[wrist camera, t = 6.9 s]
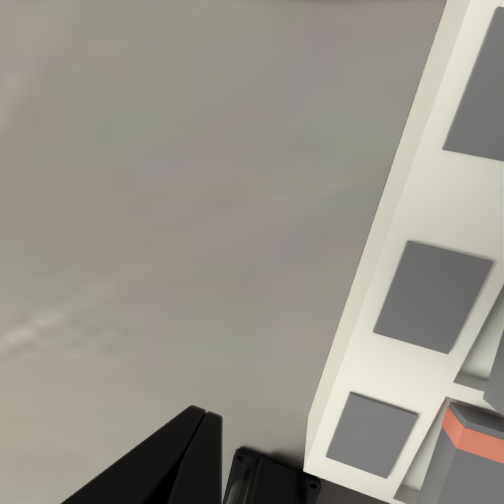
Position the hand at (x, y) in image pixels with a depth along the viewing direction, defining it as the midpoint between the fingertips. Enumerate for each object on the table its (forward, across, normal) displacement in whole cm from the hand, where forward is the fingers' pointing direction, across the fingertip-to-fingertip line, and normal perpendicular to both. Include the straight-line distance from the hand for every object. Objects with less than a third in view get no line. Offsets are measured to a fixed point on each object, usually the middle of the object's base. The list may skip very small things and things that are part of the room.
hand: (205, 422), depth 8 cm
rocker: (+7, -12, +6) cm, 15 cm away
